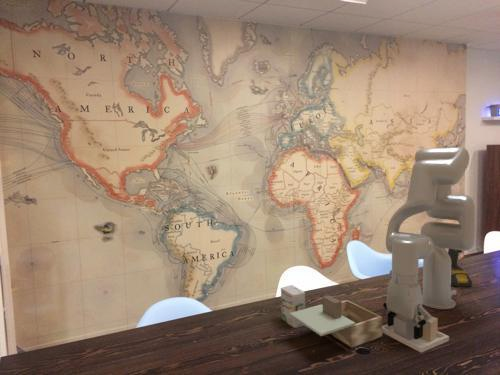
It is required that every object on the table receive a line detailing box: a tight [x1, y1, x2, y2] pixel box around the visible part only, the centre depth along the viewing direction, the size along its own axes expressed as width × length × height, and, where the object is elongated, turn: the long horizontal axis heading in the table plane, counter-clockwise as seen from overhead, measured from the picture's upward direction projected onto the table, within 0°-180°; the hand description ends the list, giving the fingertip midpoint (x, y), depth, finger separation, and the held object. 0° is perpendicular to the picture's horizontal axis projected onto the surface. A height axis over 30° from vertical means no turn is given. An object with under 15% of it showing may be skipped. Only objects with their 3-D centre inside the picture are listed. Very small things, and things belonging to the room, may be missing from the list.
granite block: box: [394, 314, 416, 340], centre depth 110 cm, size 4×4×6 cm
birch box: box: [328, 299, 383, 348], centre depth 115 cm, size 13×16×7 cm
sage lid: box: [290, 294, 355, 337], centre depth 109 cm, size 13×16×6 cm
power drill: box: [447, 249, 473, 288], centre depth 154 cm, size 20×9×25 cm, turn 179°
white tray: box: [382, 323, 450, 354], centre depth 111 cm, size 13×15×2 cm
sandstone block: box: [417, 315, 439, 342], centre depth 110 cm, size 4×4×6 cm
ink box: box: [280, 284, 306, 329], centre depth 124 cm, size 8×5×12 cm, turn 27°
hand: (404, 331), depth 110 cm, fingers open, 9 cm apart
